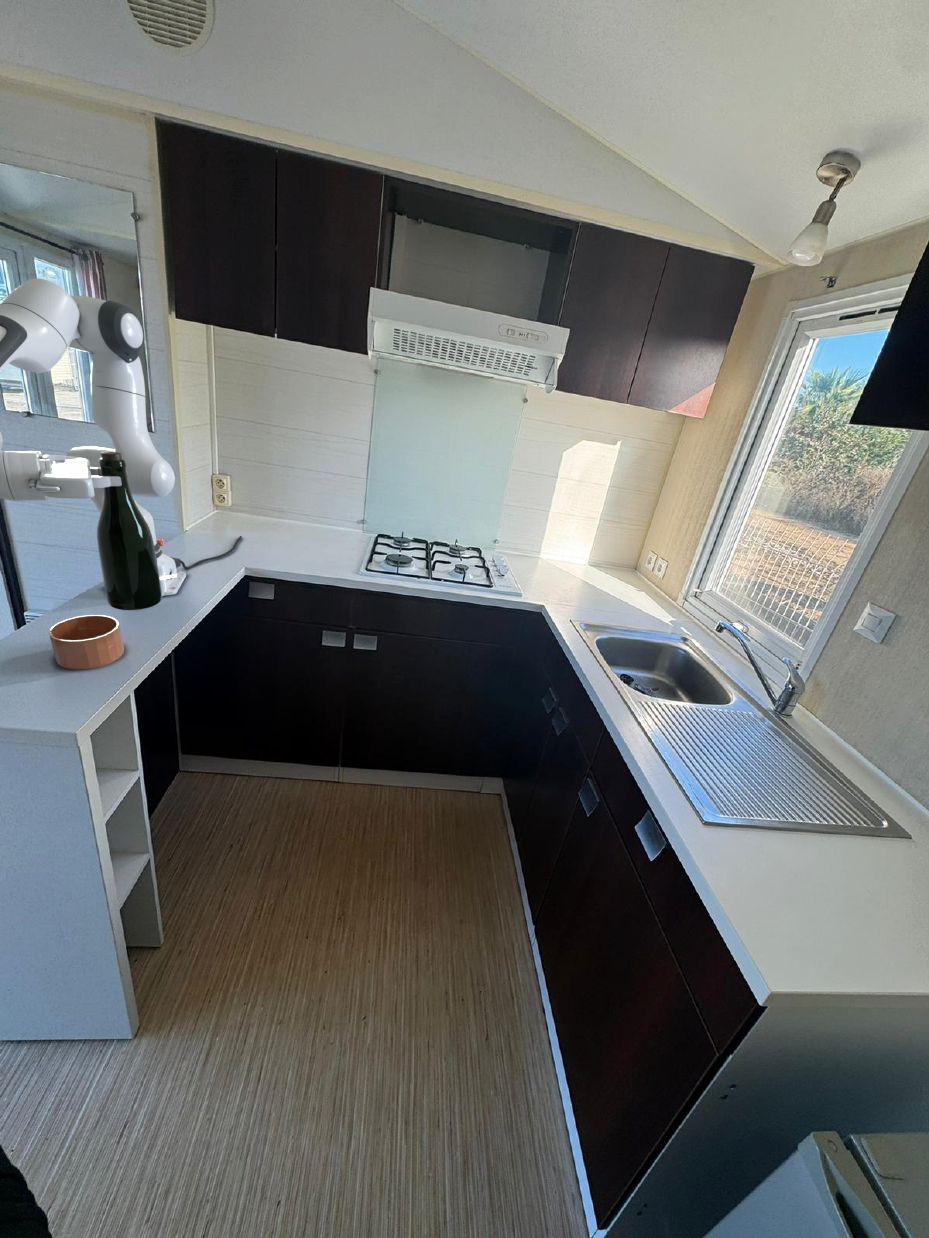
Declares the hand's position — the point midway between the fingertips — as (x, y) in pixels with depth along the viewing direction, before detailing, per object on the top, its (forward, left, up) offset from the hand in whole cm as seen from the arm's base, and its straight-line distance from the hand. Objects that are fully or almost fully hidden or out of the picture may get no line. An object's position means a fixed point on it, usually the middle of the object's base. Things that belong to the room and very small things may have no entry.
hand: (120, 477), depth 99 cm
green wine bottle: (+1, -1, -28) cm, 28 cm away
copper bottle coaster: (+6, -9, -39) cm, 41 cm away
